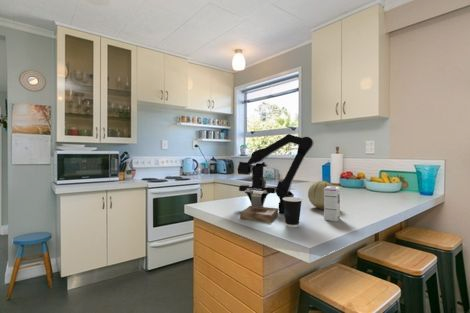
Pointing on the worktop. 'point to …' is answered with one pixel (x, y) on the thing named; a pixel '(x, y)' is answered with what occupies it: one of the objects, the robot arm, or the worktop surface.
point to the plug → (256, 200)
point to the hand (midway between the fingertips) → (257, 205)
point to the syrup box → (332, 203)
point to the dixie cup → (292, 211)
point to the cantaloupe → (318, 193)
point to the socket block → (259, 213)
